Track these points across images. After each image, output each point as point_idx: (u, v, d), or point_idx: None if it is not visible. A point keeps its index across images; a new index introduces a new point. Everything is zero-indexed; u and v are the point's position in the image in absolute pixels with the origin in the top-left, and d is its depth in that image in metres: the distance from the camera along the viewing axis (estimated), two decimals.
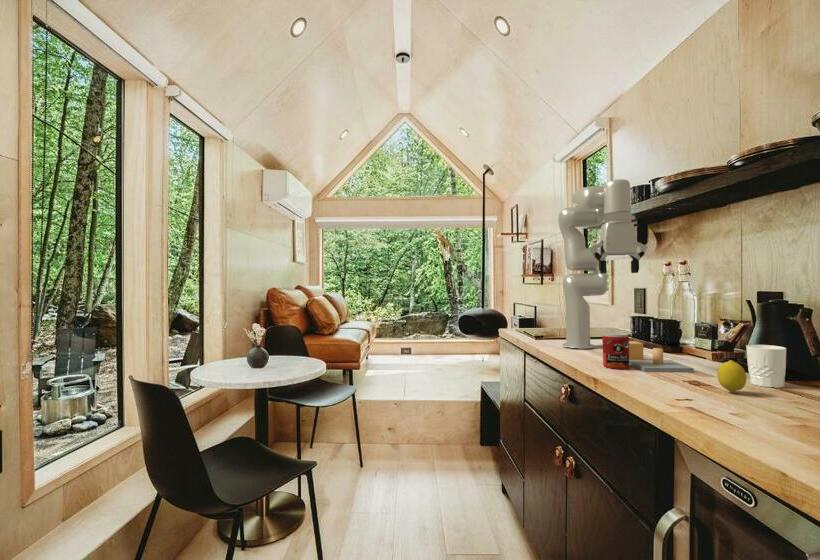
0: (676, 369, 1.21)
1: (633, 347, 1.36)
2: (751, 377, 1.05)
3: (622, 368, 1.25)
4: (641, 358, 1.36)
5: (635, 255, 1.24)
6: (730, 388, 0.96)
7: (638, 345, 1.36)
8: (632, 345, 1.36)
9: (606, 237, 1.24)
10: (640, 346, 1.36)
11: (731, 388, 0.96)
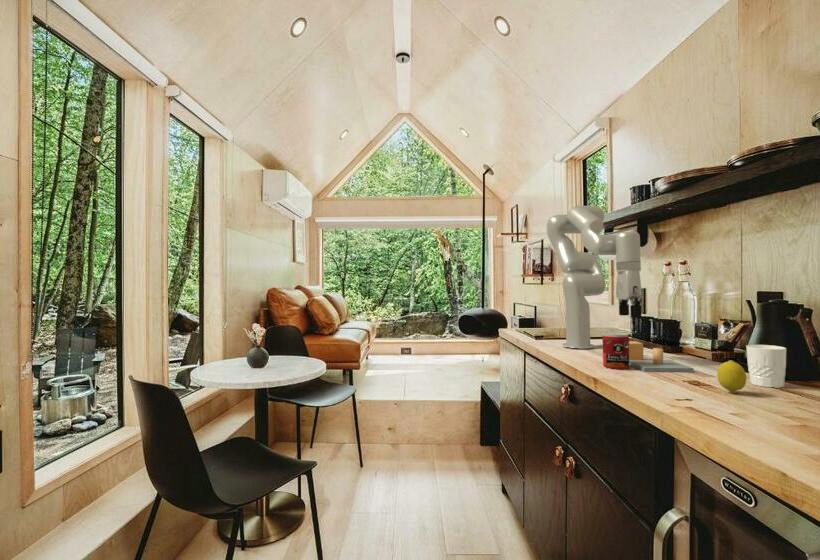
0: (676, 369, 1.21)
1: (633, 347, 1.36)
2: (751, 377, 1.05)
3: (622, 368, 1.25)
4: (641, 358, 1.36)
5: None
6: (730, 388, 0.96)
7: (638, 345, 1.36)
8: (632, 345, 1.36)
9: (640, 284, 1.35)
10: (640, 346, 1.36)
11: (731, 388, 0.96)
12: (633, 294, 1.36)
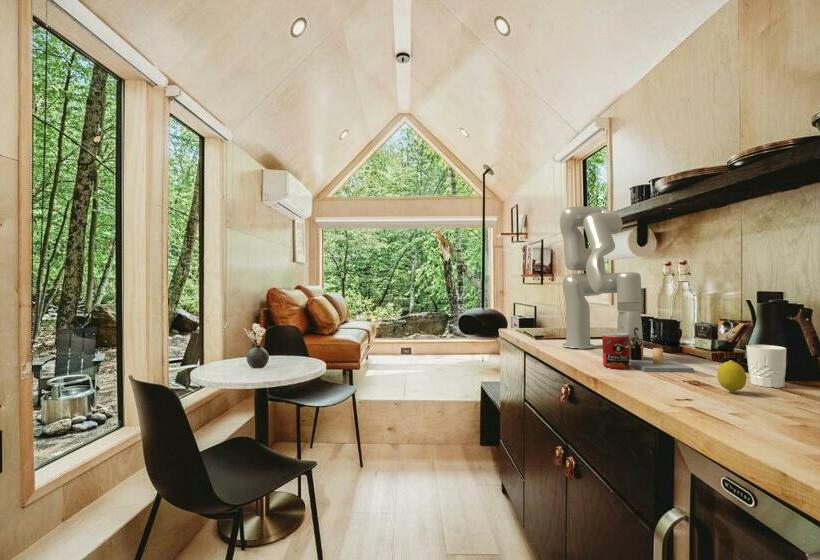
0: (676, 369, 1.21)
1: None
2: (751, 377, 1.05)
3: (622, 368, 1.25)
4: None
5: None
6: (730, 388, 0.96)
7: None
8: None
9: (641, 325, 1.34)
10: None
11: (731, 388, 0.96)
12: (634, 335, 1.35)
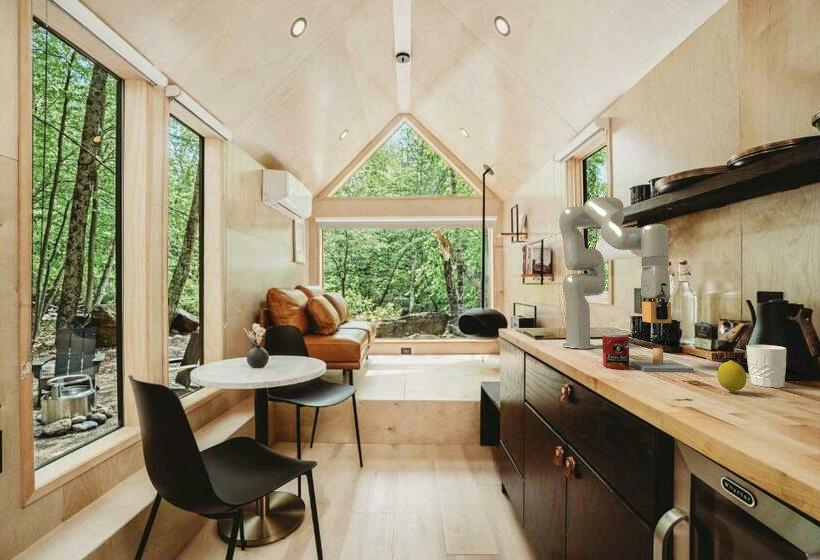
0: (676, 369, 1.21)
1: None
2: (751, 377, 1.05)
3: (622, 368, 1.25)
4: (669, 318, 1.24)
5: None
6: (730, 388, 0.96)
7: None
8: None
9: (669, 280, 1.23)
10: (668, 305, 1.25)
11: (731, 388, 0.96)
12: (661, 292, 1.25)
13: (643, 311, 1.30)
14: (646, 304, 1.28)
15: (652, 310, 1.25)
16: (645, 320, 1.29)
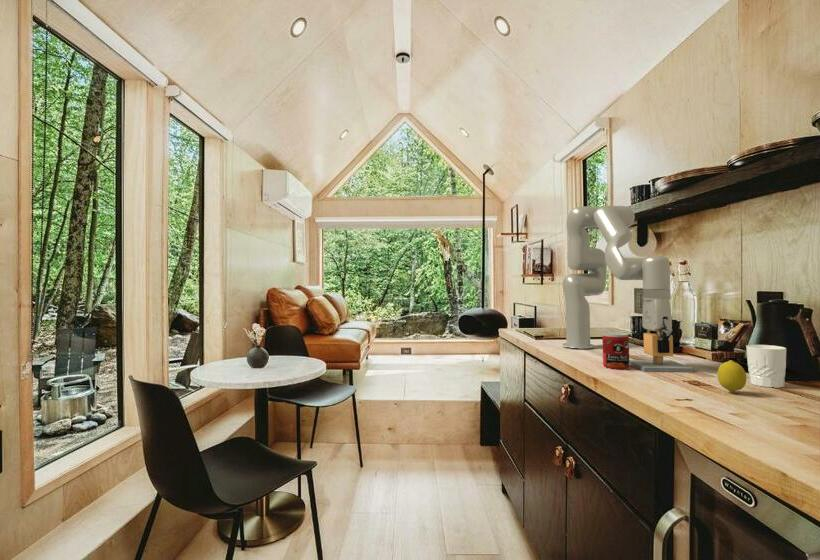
0: (676, 369, 1.21)
1: None
2: (751, 377, 1.05)
3: (622, 368, 1.25)
4: (670, 351, 1.24)
5: None
6: (730, 388, 0.96)
7: None
8: None
9: None
10: None
11: (731, 388, 0.96)
12: (662, 325, 1.24)
13: (644, 343, 1.30)
14: (647, 336, 1.28)
15: (654, 343, 1.25)
16: (646, 352, 1.28)
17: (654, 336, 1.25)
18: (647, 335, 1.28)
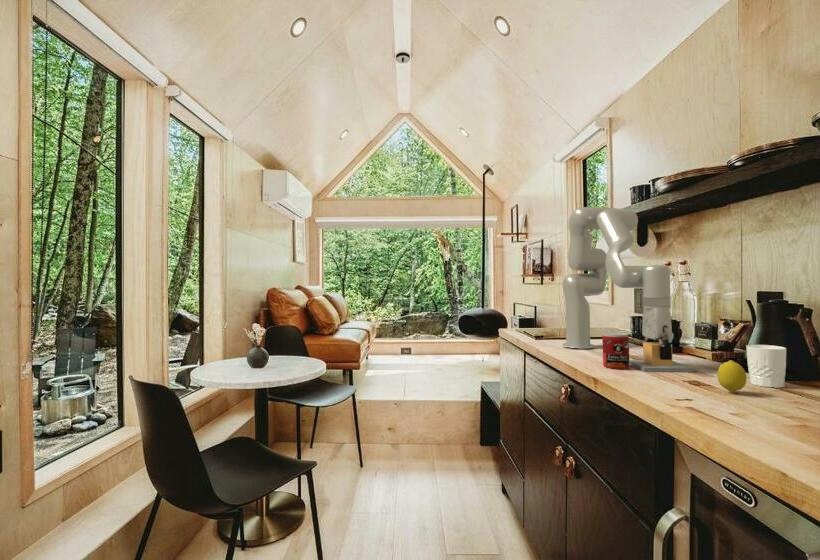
0: (676, 369, 1.21)
1: None
2: (751, 377, 1.05)
3: (622, 368, 1.25)
4: (670, 361, 1.24)
5: None
6: (730, 388, 0.96)
7: None
8: (660, 346, 1.25)
9: None
10: None
11: (731, 388, 0.96)
12: (662, 334, 1.24)
13: (644, 352, 1.30)
14: (647, 345, 1.28)
15: (653, 353, 1.25)
16: (646, 361, 1.29)
17: (653, 346, 1.25)
18: (646, 344, 1.28)
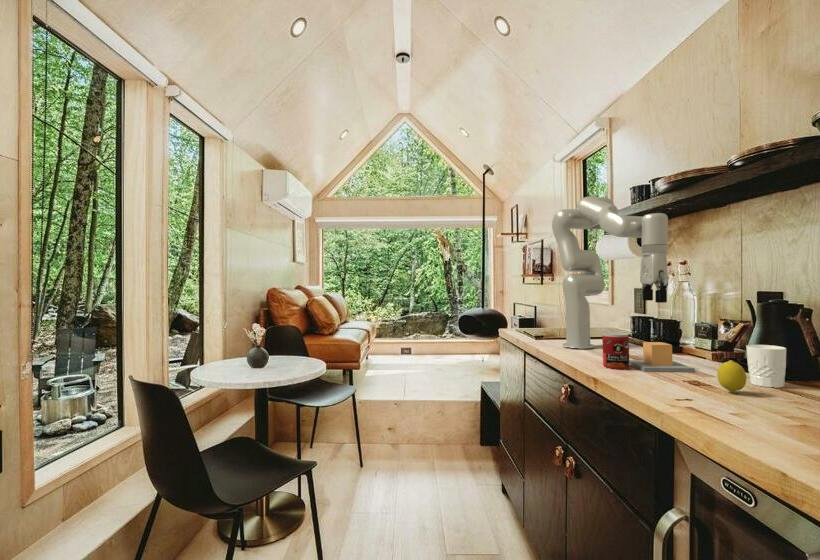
0: (676, 369, 1.21)
1: (661, 349, 1.25)
2: (751, 377, 1.05)
3: (622, 368, 1.25)
4: (670, 361, 1.24)
5: None
6: (730, 388, 0.96)
7: (666, 346, 1.24)
8: (660, 346, 1.25)
9: None
10: (669, 348, 1.24)
11: (731, 388, 0.96)
12: (659, 278, 1.30)
13: (644, 352, 1.30)
14: (647, 345, 1.28)
15: (653, 353, 1.25)
16: (646, 361, 1.29)
17: (653, 346, 1.25)
18: (646, 344, 1.28)
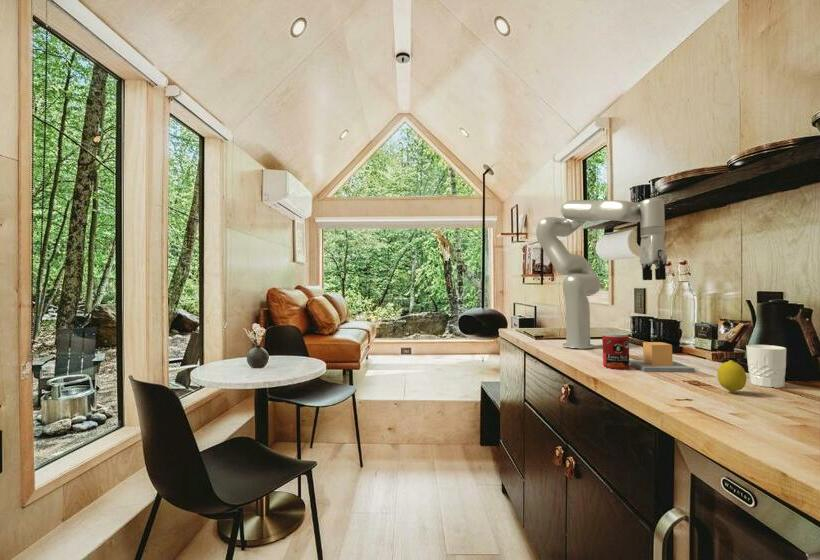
0: (676, 369, 1.21)
1: (661, 349, 1.25)
2: (751, 377, 1.05)
3: (622, 368, 1.25)
4: (670, 361, 1.24)
5: None
6: (730, 388, 0.96)
7: (666, 346, 1.24)
8: (660, 346, 1.25)
9: None
10: (669, 348, 1.24)
11: (731, 388, 0.96)
12: (657, 258, 1.41)
13: (644, 352, 1.30)
14: (647, 345, 1.28)
15: (653, 353, 1.25)
16: (646, 361, 1.29)
17: (653, 346, 1.25)
18: (646, 344, 1.28)
